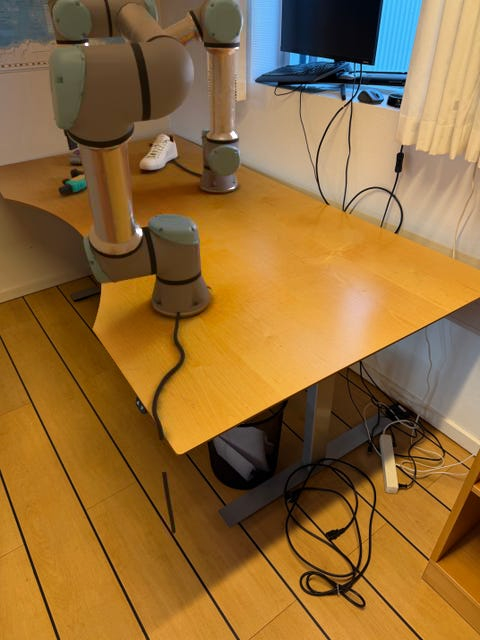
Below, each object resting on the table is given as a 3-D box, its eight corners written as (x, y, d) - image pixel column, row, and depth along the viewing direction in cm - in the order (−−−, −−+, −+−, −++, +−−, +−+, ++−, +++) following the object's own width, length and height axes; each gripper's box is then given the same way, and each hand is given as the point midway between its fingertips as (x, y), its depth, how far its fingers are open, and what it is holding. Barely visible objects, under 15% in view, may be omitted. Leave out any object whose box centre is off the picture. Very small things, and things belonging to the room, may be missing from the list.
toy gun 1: (116, 157, 226) (102, 168, 214) (79, 155, 229) (64, 165, 217) (114, 149, 224) (100, 159, 212) (78, 147, 227) (62, 157, 215)
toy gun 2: (37, 182, 187) (65, 188, 181) (83, 164, 205) (110, 169, 200) (39, 193, 189) (67, 200, 184) (85, 174, 208) (111, 179, 202)
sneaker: (133, 173, 208) (129, 144, 201) (161, 153, 230) (158, 127, 223) (155, 175, 205) (151, 146, 198) (180, 155, 227) (178, 129, 220)
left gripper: (128, 63, 114) (140, 153, 126) (48, 58, 122) (67, 143, 135) (108, 68, 108) (123, 161, 121) (26, 62, 117) (48, 150, 129)
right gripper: (68, 109, 162) (83, 175, 176) (83, 121, 148) (97, 192, 162) (90, 106, 165) (103, 172, 179) (106, 118, 151) (119, 188, 164)
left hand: (93, 152), depth 128 cm, fingers open, 13 cm apart
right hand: (100, 181), depth 170 cm, fingers closed on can, 7 cm apart
